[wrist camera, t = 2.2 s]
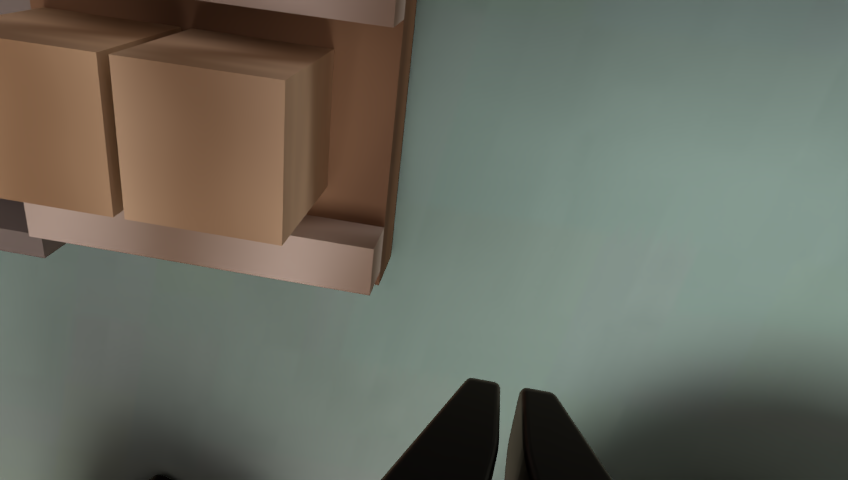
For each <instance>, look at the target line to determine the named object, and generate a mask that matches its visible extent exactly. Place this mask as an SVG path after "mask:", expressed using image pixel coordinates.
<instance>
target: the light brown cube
mask: <svg viewBox="0 0 848 480" xmlns="http://www.w3.org/2000/svg"><path fill="white" fill-rule="evenodd" d="M179 32H182V30H181V27H178V26H171V25H164V24H157V23H150V22H143V21H136V20H129V19H122V18H115V17H108V16H101V15H94V14H88V13H81V12H74V11H67V10H60V9H53V8H46V7H42V8H37V9H31V10H25V11H19V12H14V13H8V14H2V15H0V198H1V199H7V200H13V201H19V202H25V203H31V204H37V205H43V206H49V207H54V208H60V209H66V210H72V211H78V212H84V213H90V214H96V215H102V216H108V217H115V216H116V215H117V214H119V213H120V212H122V211H123V210H124V208H123V198H122V187H121V177H120V166H119V156H118V145H117V135H116V125H115V114H114V104H113V93H112V83H111V73H110V62H109V54H111V53H114V52H118V51H121V50H124V49H127V48H130V47H134V46H137V45H140V44H143V43H146V42H150V41H153V40H156V39H159V38H162V37H166V36H169V35H172V34H175V33H179Z"/></svg>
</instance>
